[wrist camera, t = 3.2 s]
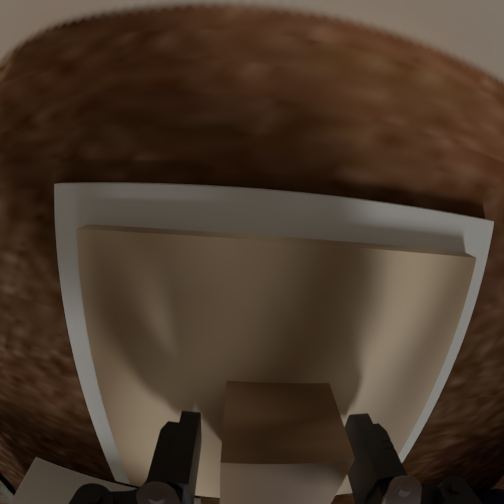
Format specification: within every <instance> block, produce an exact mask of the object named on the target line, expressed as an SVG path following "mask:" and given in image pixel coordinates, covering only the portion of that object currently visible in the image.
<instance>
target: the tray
mask: <svg viewBox="0 0 504 504" xmlns="http://www.w3.org/2000/svg"><path fill="white" fill-rule="evenodd" d="M54 209H55V232H56V246H57V258H58V267H59V276H60V284H61V291H62V298H63V305H64V311H65V317H66V322H67V327H68V332H69V337H70V342H71V347H72V351H73V356H74V360H75V364H76V368H77V372H78V376H79V379H80V383H81V387H82V390H83V394H84V397H85V400H86V404H87V407H88V410H89V413H90V416H91V419H92V422H93V425H94V428H95V431H96V434H97V436H98V439H99V442H100V444H101V447H102V450H103V452H104V455H105V457H106V460H107V462H108V464H109V467H110V469H111V471H112V474H113V476H114V478H115V480H116V481H118V482H122V483H127V484H130V483H129V480H128V478H127V475H126V472H125V470H124V467H123V464H122V462H121V459H120V456H119V453H118V450H117V447H116V444H115V441H114V438H113V435H112V432H111V429H110V426H109V422H108V419H107V416H106V412H105V409H104V405H103V401H102V397H101V394H100V390H99V386H98V382H97V377H96V373H95V369H94V364H93V359H92V354H91V349H90V344H89V339H88V333H87V327H86V321H85V315H84V308H83V300H82V293H81V284H80V275H79V264H78V251H77V235H76V229H77V228H79V227H82V226H84V225H86V224H87V225H107V226H127V227H145V228H162V229H179V230H195V231H211V232H226V233H241V234H255V235H269V236H282V237H296V238H309V239H321V240H334V241H346V242H358V243H369V244H381V245H392V246H403V247H414V248H425V249H435V250H445V251H455V252H465V253H468V254H470V255H472V256H474V257H476V263H475V267H474V271H473V275H472V279H471V283H470V287H469V291H468V294H467V298H466V301H465V304H464V308H463V311H462V314H461V317H460V321H459V324H458V327H457V330H456V332H455V335H454V338H453V341H452V344H451V346H450V349H449V352H448V354H447V357H446V359H445V362H444V364H443V367H442V369H441V372H440V374H439V376H438V379H437V381H436V383H435V386H434V388H433V390H432V392H431V394H430V397H429V399H428V401H427V403H426V405H425V407H424V409H423V411H422V413H421V415H420V417H419V419H418V421H417V423H416V425H415V427H414V429H413V430H412V432H411V434H410V436H409V438H408V439H407V441H406V443H405V445H404V446H403V448H402V450H401V452H400V453H399V455H398V456H399V459H400V461H401V463H402V462H403V461H404V459H405V457H406V456H407V454H408V453H409V451H410V449H411V448H412V446H413V444H414V443H415V441H416V439H417V437H418V436H419V434H420V432H421V430H422V429H423V427H424V425H425V423H426V421H427V419H428V417H429V416H430V414H431V412H432V410H433V408H434V406H435V404H436V402H437V400H438V398H439V396H440V393H441V391H442V389H443V387H444V385H445V383H446V380H447V378H448V376H449V374H450V371H451V369H452V367H453V364H454V362H455V359H456V357H457V354H458V352H459V349H460V346H461V344H462V341H463V338H464V336H465V333H466V330H467V327H468V324H469V321H470V318H471V315H472V312H473V309H474V306H475V302H476V299H477V295H478V292H479V288H480V285H481V281H482V277H483V273H484V269H485V265H486V260H487V256H488V251H489V246H490V241H491V236H492V231H493V225H494V222H493V221H490V220H487V219H483V218H478V217H473V216H467V215H462V214H456V213H451V212H445V211H439V210H433V209H427V208H421V207H415V206H408V205H402V204H395V203H388V202H381V201H373V200H365V199H358V198H350V197H341V196H332V195H323V194H314V193H304V192H294V191H283V190H271V189H258V188H245V187H230V186H213V185H193V184H168V183H125V182H80V183H58V184H54ZM131 485H133V484H131ZM135 486H137V485H135ZM350 493H352V492H350ZM342 494H345V493H342ZM336 495H338V494H336ZM197 496H201V495H197ZM207 497H211V496H207ZM219 498H220V497H219Z"/></svg>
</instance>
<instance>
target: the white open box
mask: <svg viewBox="0 0 504 504" xmlns="http://www.w3.org/2000/svg"><path fill="white" fill-rule="evenodd" d="M88 483H96V484H100V485H103V486H105V487H106V488H107V489H108V490H109V491H131V490H134V489H137V488H133V487H129V486H124V485H120V484H116V483H112V482H108V481H105V480H101V479H98V478H94V477H91V476H88V475H84V474H81V473H78V472H75V471H72V470H69V469H67V468H64V467H61V466H58V465H56V464H53V463H50V462H48V461H45V460H43V459H40V458H38V457H35V459H34V461H33V463H32V464H31V466H30V468H29V470H28V471H27V473H26V475H25V477H24V479H23V480H22V482H21V484H20V486H19V488H18V490H17V491H16V493H15V495H14V497H13V499H12V501H11V503H10V504H69V502H70V500H71V499H72V497H73V496H74V494H75V493H76V491H77V490H78V488H80V487H81V486H82V485H85V484H88ZM194 504H201V498H194Z"/></svg>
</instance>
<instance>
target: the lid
mask: <svg viewBox="0 0 504 504" xmlns="http://www.w3.org/2000/svg"><path fill="white" fill-rule="evenodd" d="M76 235H77V251H78V264H79V275H80V284H81V293H82V300H83V308H84V315H85V321H86V327H87V333H88V339H89V344H90V349H91V354H92V359H93V364H94V369H95V373H96V377H97V382H98V386H99V390H100V394H101V397H102V401H103V405H104V409H105V412H106V416H107V419H108V422H109V426H110V429H111V432H112V435H113V438H114V441H115V444H116V447H117V450H118V453H119V456H120V459H121V462H122V464H123V467H124V470H125V472H126V475H127V478H128V480H129V483H130V484H133V485H137V486H142V485H143V484H144V483H145V481H146V480H147V477H148V473H149V469H150V466H151V462H152V458H153V455H154V451H155V449H156V448H155V447H156V444H157V441H158V437H159V433H160V430H161V428H162V427H163V426H164V425H165V424H166V423H167V422H168V421H171V422H179V421H180V416H181V412H182V411H191V412H201V431H202V442H201V452H200V460H199V467H198V475H197V483H196V490H195V495H201V496H211V497H220V504H331V502H332V500H333V499H334V497H335V495H336V494H342V493H350V492H352V489H351V486H350V482H349V479H348V475H347V474H348V472H349V470H350V468H351V466H352V464H353V462H354V460H355V457H354V454H353V451H352V448H351V445H350V442H349V439H348V436H347V433H346V430H345V424H346V422H347V419H348V417H349V415H351V414H362V413H368V414H369V416H370V418H371V420H372V422H373V424H377V423H379V424H380V425H381V426H382V427H383V428H384V429H385V430H386V431H387V433H388V435H389V437H390V439H391V442H392V443H393V445H394V449H395V450H396V452H397V454H398V455H399V453H400V452H401V450H402V448H403V446H404V445H405V443H406V441H407V439H408V438H409V436H410V434H411V432H412V430H413V429H414V427H415V425H416V423H417V421H418V419H419V417H420V415H421V413H422V411H423V409H424V407H425V405H426V403H427V401H428V399H429V397H430V394H431V392H432V390H433V388H434V386H435V383H436V381H437V379H438V376H439V374H440V372H441V369H442V367H443V364H444V362H445V359H446V357H447V354H448V352H449V349H450V346H451V344H452V341H453V338H454V335H455V332H456V330H457V327H458V324H459V321H460V317H461V314H462V311H463V308H464V304H465V301H466V298H467V294H468V291H469V287H470V283H471V279H472V275H473V271H474V267H475V263H476V257H474V256H472V255H470V254H468V253H465V252H455V251H445V250H435V249H425V248H414V247H403V246H392V245H381V244H369V243H358V242H346V241H334V240H321V239H309V238H296V237H282V236H269V235H255V234H241V233H226V232H211V231H195V230H179V229H162V228H145V227H127V226H107V225H87V224H86V225H84V226H82V227H79V228H77V229H76Z"/></svg>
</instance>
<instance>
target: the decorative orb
mask: <svg viewBox="0 0 504 504" xmlns="http://www.w3.org/2000/svg"><path fill="white" fill-rule="evenodd" d="M477 497H478V498H479V499H480V501H481V502H482V503H483V504H504V490H502V489H493V490H490V491H487V492H484V493H481V494H478V495H477Z"/></svg>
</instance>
